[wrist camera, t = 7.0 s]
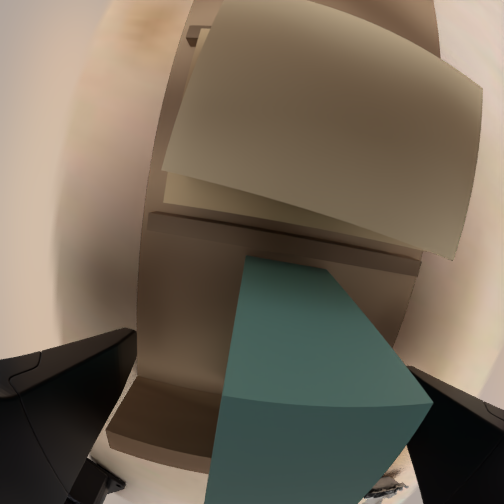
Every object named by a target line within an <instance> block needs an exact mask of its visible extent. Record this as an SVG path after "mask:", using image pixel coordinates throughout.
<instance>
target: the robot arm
mask: <svg viewBox="0 0 504 504" xmlns="http://www.w3.org/2000/svg"><path fill="white" fill-rule="evenodd" d="M136 357H137V333H136V331H135V330H133V329H129V328H121V329H118V330H114V331H111V332H107V333H104V334H100V335H97V336H94V337H90V338H86V339H83V340H79V341H76V342H72V343H69V344H65V345H61V346H58V347H54V348H50V349H47V350H43V351H42V352H40V351H39V352H35V353H31V354H27V355H23V356H18V357H13V358H8V359H1V360H0V504H103V502H104V500H105V497H106V495H107V494H109V493H113V492H116V491H119V490H122V489H124V488H125V486H126V484H125V483H124V482H122V481H121V480H119V479H118V478H116V477H114V476H113V475H111V474H110V473H108V472H107V471H105V470H104V469H102V468H101V467H100V466H98V465H97V464H95V463H94V462H93V461H91V460H90V459H89V458H87V456H88V454H89V453H90V451H91V449H92V447H93V445H94V443H95V441H96V439H97V437H98V436H99V434H100V432H101V430H102V428H103V426H104V425H105V423H106V421H107V419H108V417H109V415H110V414H111V412H112V410H113V408H114V406H115V405H116V403H117V401H118V399H119V397H120V396H121V394H122V391H123V389H124V387H125V384H126V382H127V379H128V377H129V374H130V372H131V369H132V367H133V365H134V362H135V360H136ZM406 367H407V368H408V369H409V371H410V372H411V373H412V375H413V376H414V377H415V378H416V380H417V381H418V382H419V384H420V385H421V386H422V388H423V389H424V390H425V392H426V393H427V394H428V396H429V397H430V398H431V400H432V401H433V404H432V406H431V408H430V410H429V411H428V413H427V414H426V416H425V418H424V419H423V421H422V422H421V424H420V426H419V427H418V429H417V430H416V432H415V433H414V435H413V436H412V438H411V439H410V440H409V442H408V443H407V448H408V451H409V454H410V458H411V461H412V464H413V467H414V471H415V474H416V478H417V481H418V485H419V489H420V492H421V496H422V500H423V504H504V410H502V409H500V408H497V407H495V406H493V405H491V404H489V403H486V402H483V401H482V400H480V399H478V398H476V397H474V396H472V395H470V394H468V393H466V392H463V391H461V390H459V389H457V388H455V387H453V386H451V385H449V384H447V383H445V382H443V381H441V380H439V379H437V378H435V377H433V376H431V375H429V374H427V373H425V372H423V371H421V370H419V369H417V368H415V367H413V366H406Z"/></svg>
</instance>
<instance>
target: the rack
mask: <svg viewBox="0 0 504 504" xmlns="http://www.w3.org/2000/svg"><path fill="white" fill-rule="evenodd" d="M223 1H224V0H194V1H193V4H192V6H191V9H190V12H189V15H188V18H187V20H186V23H185V26H184V29H183V32H182V35H181V39H180V42H179V45H178V48H177V51H176V55H175V58H174V62H173V65H172V69H171V72H170V76H169V80H168V84H167V88H166V92H165V96H164V100H163V104H162V109H161V113H160V117H159V122H158V127H157V132H156V137H155V142H154V147H153V153H152V159H151V164H150V171H149V177H148V184H147V191H146V198H145V206H144V214H143V223H142V233H141V244H140V256H139V271H138V290H137V374H138V376H137V377H136V379H135V381H134V382H133V384H132V386H131V387H130V389H129V391H128V392H127V394H126V396H125V397H124V399H123V401H122V402H121V404H120V406H119V407H118V409H117V411H116V413H115V414H114V416H113V418H112V419H111V421H110V423H109V425H108V426H107V428H106V434H107V438H108V442H109V446H110V448H112V449H114V450H117V451H120V452H123V453H126V454H129V455H132V456H135V457H138V458H142V459H145V460H149V461H152V462H156V463H159V464H163V465H167V466H171V467H175V468H180V469H184V470H189V471H194V472H199V473H205V474H209V470H210V464H211V458H212V452H213V446H214V440H215V434H216V428H217V421H218V415H219V409H220V403H221V397H222V391H223V385H224V379H225V374H226V368H227V362H228V356H229V350H230V344H231V338H232V333H233V327H234V321H235V315H236V309H237V304H238V298H239V292H240V286H241V281H242V275H243V269H244V264H245V258H246V255H247V256H253V257H259V258H264V259H270V260H276V261H282V262H287V263H293V264H299V265H305V266H310V267H316V268H322V269H327V270H328V272H329V273H330V274H331V275H332V276H333V277H334V279H335V280H336V281H337V282H338V283H339V284H340V286H341V287H342V288H343V289H344V290H345V291H346V293H347V294H348V295H349V296H350V297H351V299H352V300H353V301H354V302H355V303H356V305H357V306H358V307H359V308H360V309H361V311H362V312H363V313H364V314H365V315H366V317H367V318H368V319H369V320H370V321H371V323H372V324H373V325H374V326H375V328H376V329H377V330H378V331H379V333H380V334H381V335H382V336H383V338H384V339H385V340H386V341H387V343H388V344H389V345H390V346H391V348H393V345H394V343H395V340H396V337H397V335H398V332H399V329H400V327H401V324H402V321H403V318H404V315H405V312H406V309H407V306H408V303H409V300H410V297H411V293H412V290H413V287H414V283H415V280H416V277H418V273H419V269H420V266H421V257H422V253H423V251H422V250H417V249H413V248H409V247H404V246H400V245H395V244H391V243H386V242H381V241H377V240H372V239H367V238H362V237H358V236H353V235H348V234H343V233H338V232H333V231H328V230H323V229H318V228H312V227H307V226H302V225H296V224H291V223H286V222H280V221H275V220H269V219H263V218H257V217H252V216H246V215H240V214H234V213H228V212H222V211H215V210H209V209H203V208H196V207H190V206H183V205H176V204H169V203H163V201H164V193H165V187H166V180H167V174H168V172H167V171H163V170H161V169H162V165H163V162H164V158H165V154H166V151H167V147H168V144H169V141H170V137H171V134H172V131H173V127H174V124H175V121H176V118H177V115H178V112H179V109H180V106H181V102H182V98H183V93H184V89H185V85H186V81H187V77H188V73H189V69H190V66H191V62H192V58H193V55H194V51H195V48H196V44H197V41H198V37H199V34H200V31H201V28H204V29H210V28H211V26H212V24H213V22H214V19H215V17H216V15H217V13H218V11H219V9H220V7H221V5H222V3H223ZM308 1H311V2H315V3H318V4H321V5H325V6H328V7H331V8H334V9H337V10H340V11H342V12H345V13H348V14H351V15H353V16H356V17H358V18H361V19H363V20H366V21H368V22H371V23H373V24H375V25H378V26H380V27H382V28H384V29H386V30H389V31H391V32H393V33H395V34H397V35H399V36H401V37H403V38H405V39H407V40H409V41H410V42H412V43H414V44H416V45H418V46H420V47H421V48H423V49H425V50H427V51H428V52H430V53H432V54H433V55H435V56H437V57H438V58H440V46H439V36H438V28H437V20H436V14H435V8H434V2H433V0H308ZM440 59H441V58H440Z"/></svg>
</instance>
